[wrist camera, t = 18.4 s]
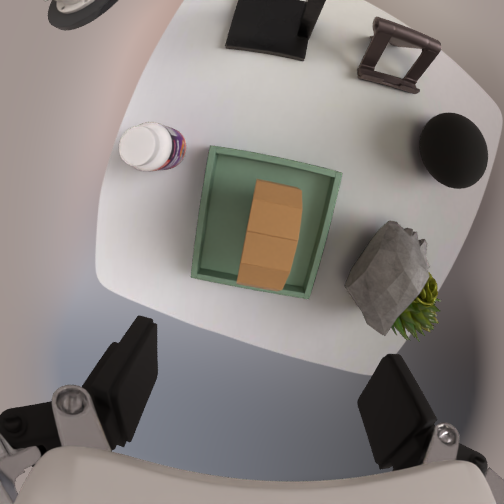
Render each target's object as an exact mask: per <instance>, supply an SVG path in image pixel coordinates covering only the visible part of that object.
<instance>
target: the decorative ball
mask: <svg viewBox="0 0 504 504" xmlns="http://www.w3.org/2000/svg"><path fill="white" fill-rule="evenodd" d="M420 152H421V157H422V160H423V162H424V165H425V167H426V168H427V170H428V171H429V173H430V174H431V175H432V176H433V177H434V178H435V179H436V180H437V181H438V182H440V183H441V184H443V185H445V186H448V187H451V188H456V189H461V188H467V187H470V186H472V185H473V184H475V183H476V182H477V181H479V179H480V178H481V177H482V176H483V174H484V172H485V170H486V167H487V162H488V150H487V145H486V142H485V139H484V137H483V135H482V133H481V132H480V130H479V129H478V127H477V126H476V125H475V124H474V123H473V122H472V121H470V120H469V119H468V118H466V117H464V116H462V115H459V114H456V113H442V114H439V115H437V116H435V117H433V118H432V119H431V120H429V122H428V123H427V124H426V125H425V127H424V129H423V131H422V134H421V138H420Z"/></svg>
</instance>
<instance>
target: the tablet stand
mask: <svg viewBox="0 0 504 504" xmlns="http://www.w3.org/2000/svg"><path fill="white" fill-rule="evenodd" d="M373 31H374V36H370V38H372V41H371V43H370V45H369V47H368V49H367V51H366V53H365V55H364V57H363V59H362V61H361V63H360V65H359V68H358V72H357V75H358V78H360V79H365V80H369V81H373V82H376V83H380V84H384V85H387V86H391V87H394V88H397V89H401V90H404V91H407V92H410V93H413V94H417V93H418V92H420V91H419V89H417V88H416V86H415V84H416V83H417V80H418V79H419V78H420V77H421V75H422V74H423V73H424V72H425V70H426V69H427V68H428V67H429V65H430V64H431V63H432V62H433V60H434V59H435V58H436V56H437V55H438V54H439V52H440V50H441V43H440V42H439V41H438V40H436V39H434V38H431V37H429V36H427V35H425V34H422V33H420V32H418V31H415V30H413V29H410V28H408V27H405V26H403V25H400V24H397V23H395V22H392V21H389V20H386V19H383V18H380V17H375V19H374V21H373ZM388 42H389V43H390V44H392V45H395V46H398V47H408V48H418V49H422V53H421V55H420V56H419V57H418V59H417V60H416V62H415V63H414V64H413V66H412V67H411V69H410V70H409V71H408V73H407V74H406V75H405V77H404V78H403V79H400V78H397V77H394V76H391V75H388V74H384V73H381V72H377V71H374V69H375V66H376V64H377V62H378V60H379V59H380V57H381V55H382V53H383V51H384V50H385V48H386V46H387V44H388Z"/></svg>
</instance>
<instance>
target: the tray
mask: <svg viewBox="0 0 504 504" xmlns="http://www.w3.org/2000/svg"><path fill="white" fill-rule="evenodd" d="M341 177H342V173H341V172H337V171H334V170H330V169H326V168H322V167H318V166H314V165H310V164H306V163H302V162H297V161H293V160H288V159H284V158H279V157H274V156H269V155H264V154H259V153H254V152H248V151H243V150H237V149H231V148H225V147H218V146H210V148H209V154H208V159H207V165H206V171H205V177H204V183H203V189H202V195H201V202H200V208H199V215H198V222H197V230H196V237H195V245H194V253H193V261H192V270H191V278H195V279H200V280H205V281H210V282H215V283H220V284H225V285H230V286H235V287H241V288H246V289H252V290H257V291H263V292H268V293H274V294H280V295H286V296H292V297H298V298H304V299H309V297H310V294H311V291H312V287H313V284H314V281H315V277H316V274H317V271H318V267H319V264H320V260H321V257H322V253H323V250H324V246H325V242H326V239H327V235H328V231H329V227H330V223H331V219H332V215H333V211H334V207H335V203H336V199H337V195H338V191H339V186H340V182H341ZM257 179H261V180H266V181H271V182H275V183H280V184H285V185H289V186H294V187H298V188H299V189H300V190H302V217H301V225H300V232H299V239H298V244H297V248H296V252H295V256H294V259H293V263H292V267H291V271H290V274H289V276H288V278H287V280H286V283H285V285H284V287H283V289H282V290H280V291H272V290H266V289H261V288H255V287H250V286H245V285H239V284H236V282H237V277H238V271H239V266H240V261H241V256H242V250H243V245H244V240H245V235H246V230H247V225H248V220H249V215H250V209H251V204H252V199H253V194H254V189H255V185H256V180H257Z"/></svg>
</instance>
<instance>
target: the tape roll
mask: <svg viewBox="0 0 504 504" xmlns="http://www.w3.org/2000/svg"><path fill="white" fill-rule="evenodd" d="M301 217H302V190H300V189H299V188H298V187H294V186H289V185H285V184H280V183H275V182H271V181H266V180H261V179H257V180H256V185H255V189H254V194H253V199H252V204H251V209H250V215H249V220H248V225H247V230H246V235H245V240H244V245H243V250H242V256H241V261H240V266H239V271H238V277H237V282H236V284H239V285H245V286H250V287H255V288H261V289H266V290H272V291H280V290H282V289H283V287H284V285H285V283H286V280H287V278H288V276H289V274H290V271H291V267H292V263H293V259H294V256H295V252H296V248H297V244H298V239H299V232H300V225H301Z"/></svg>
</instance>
